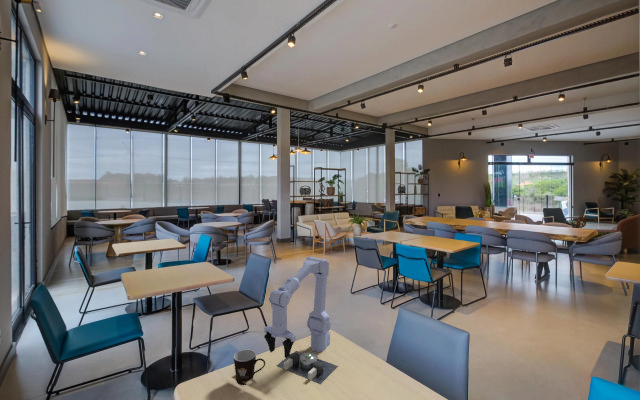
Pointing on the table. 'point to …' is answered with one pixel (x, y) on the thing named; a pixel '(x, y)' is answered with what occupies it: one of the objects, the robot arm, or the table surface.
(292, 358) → the knob
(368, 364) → the table surface
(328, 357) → the table surface
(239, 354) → the coffee mug
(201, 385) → the table surface
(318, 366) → the knob
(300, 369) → the plate
